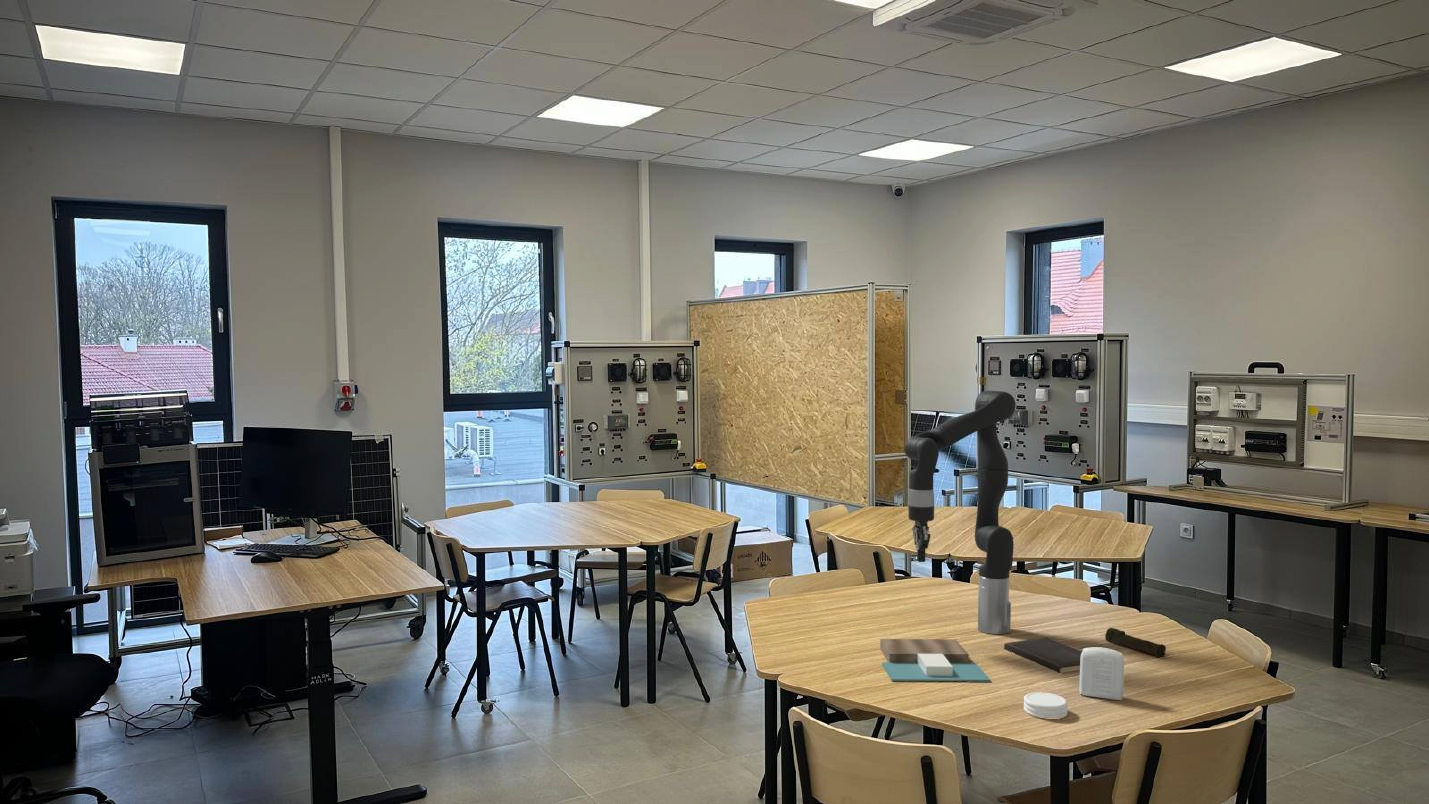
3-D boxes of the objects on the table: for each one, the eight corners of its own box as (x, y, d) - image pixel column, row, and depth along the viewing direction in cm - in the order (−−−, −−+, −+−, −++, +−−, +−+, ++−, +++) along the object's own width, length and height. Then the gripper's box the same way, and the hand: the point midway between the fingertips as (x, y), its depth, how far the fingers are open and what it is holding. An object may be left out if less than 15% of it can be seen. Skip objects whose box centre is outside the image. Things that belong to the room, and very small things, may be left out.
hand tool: (1166, 657, 268) (1167, 641, 268) (1157, 659, 266) (1157, 643, 266) (1111, 640, 285) (1112, 625, 285) (1102, 642, 283) (1102, 626, 283)
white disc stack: (1066, 723, 218) (1067, 708, 218) (1022, 717, 222) (1022, 702, 222) (1067, 709, 227) (1068, 694, 227) (1024, 703, 231) (1025, 689, 231)
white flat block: (942, 662, 260) (942, 653, 259) (952, 675, 249) (952, 666, 248) (917, 662, 260) (917, 653, 259) (926, 675, 249) (926, 666, 248)
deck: (955, 649, 274) (955, 639, 274) (968, 664, 260) (968, 654, 260) (880, 649, 274) (880, 638, 273) (889, 664, 260) (889, 653, 260)
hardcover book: (1047, 645, 280) (1047, 637, 280) (1105, 668, 259) (1105, 660, 259) (1003, 650, 275) (1003, 643, 274) (1059, 675, 253) (1059, 667, 253)
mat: (975, 665, 260) (975, 662, 260) (990, 682, 246) (990, 679, 246) (882, 664, 260) (882, 662, 260) (891, 681, 246) (891, 679, 246)
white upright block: (1122, 696, 236) (1124, 648, 235) (1123, 702, 232) (1124, 652, 231) (1079, 690, 240) (1080, 643, 239) (1079, 696, 236) (1080, 648, 235)
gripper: (939, 507, 272) (939, 566, 273) (928, 500, 286) (928, 556, 286) (913, 507, 272) (913, 566, 273) (903, 500, 286) (903, 556, 286)
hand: (921, 561), depth 280 cm, fingers closed
